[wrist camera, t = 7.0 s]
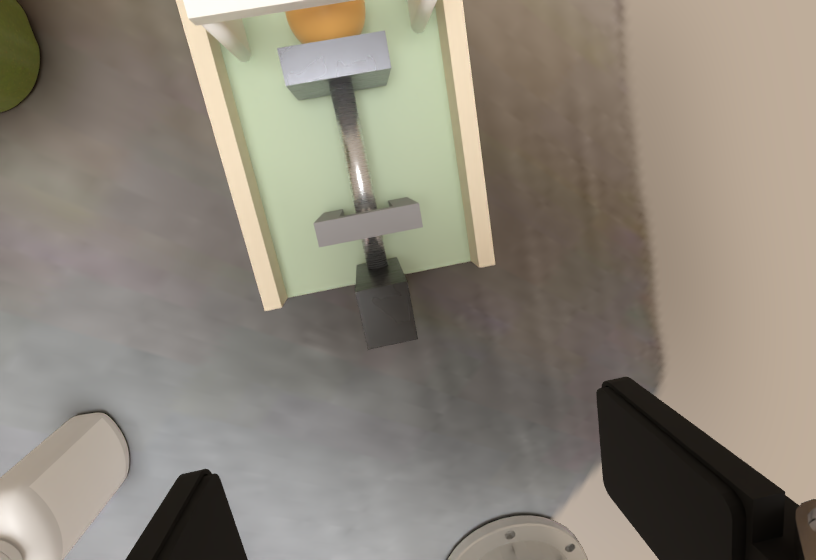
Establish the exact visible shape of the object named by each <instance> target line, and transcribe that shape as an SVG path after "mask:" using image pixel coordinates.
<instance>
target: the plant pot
mask: <svg viewBox="0 0 816 560" xmlns="http://www.w3.org/2000/svg"><path fill="white" fill-rule="evenodd" d="M39 64H40V53H39V47H38V44H37V42H36V40H35V37H34V35H33V32H32V29H31V27H30V24H29V22H28V19H27V16H26V14H25V12H24V10H23V9H22V7H21V6H20V5H19V3H18V2H17V1H16V0H0V112H3V111H6V110H9V109H11V108H13V107H15V106H16V105H18V104H19V103H20V102H21V101H22V100H23V99H24V98H25V97H26V96H27V95H28V94H29V93H30V91H31V90H32V88H33V86H34V84H35V82H36V79H37V75H38V71H39Z"/></svg>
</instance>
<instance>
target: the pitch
mask: <svg viewBox="0 0 816 560" xmlns="http://www.w3.org/2000/svg"><path fill="white" fill-rule="evenodd" d="M348 1H355V0H176V3H177V6H178V10H179V13H180V17H181V20H182V24H183V27H184V31H185V34H186V38H187V41H188V45H189V48H190V51H191V55H192V58H193V62H194V65H195V69H196V72H197V76H198V79H199V83H200V86H201V90H202V93H203V97H204V100H205V104H206V107H207V111H208V114H209V118H210V121H211V125H212V128H213V132H214V135H215V139H216V142H217V146H218V149H219V153H220V156H221V160H222V163H223V167H224V170H225V174H226V177H227V181H228V184H229V188H230V191H231V195H232V198H233V202H234V205H235V209H236V212H237V216H238V219H239V222H240V226H241V229H242V233H243V236H244V240H245V243H246V247H247V250H248V254H249V257H250V261H251V264H252V268H253V271H254V275H255V278H256V282H257V285H258V289H259V292H260V296H261V299H262V303H263V306H264V310H265V311H268V310H273V309H278V308H282V307H283V305H284V303H285V302H286V300H287V298H289V297H294V296H299V295H304V294H309V293H314V292H319V291H324V290H329V289H334V288H339V287H344V286H349V285H354V284H356V266H357V265H358V264H363V263H366V259H365V254H364V250H363V245H362V240H361V239H365V238H370V237H375V236H381V235H382V237H383V242H384V247H385V252H386V257H387V259H389V258H394V257H397V259H398V261H399V263H400V266H401V268H402V270H403V273H404V274H409V273H414V272H419V271H424V270H429V269H434V268H439V267H444V266H449V265H454V264H459V263H464V262H469V261H471V262H473V263H474V264H475V265H476V266H478V267H479V268H481V267H486V266H491V265H495V258H494V250H493V242H492V234H491V226H490V218H489V210H488V202H487V194H486V186H485V178H484V170H483V162H482V154H481V146H480V138H479V130H478V122H477V114H476V106H475V98H474V90H473V82H472V74H471V66H470V58H469V50H468V42H467V34H466V26H465V18H464V10H463V2H462V0H364V2H365V11H366V14H365V23H364V27H363V30H362V32H361V34H366V33H372V32H378V31H384V30H385V34H386V39H387V45H388V51H389V57H390V63H391V71H390V75H389V78H388V82H387V85H386V86H380V87H374V88H368V89H363V90H357V91H354V94H355V99H356V104H357V109H358V114H359V119H360V124H361V130H362V135H363V140H364V145H365V150H366V155H367V160H368V165H369V170H370V175H371V181H372V186H373V191H374V196H375V201H376V206H377V209H376V210H371V211H365V212H360V213H356V211H355V207H354V202H353V197H352V192H351V188H350V183H349V178H348V173H347V169H346V164H345V159H344V154H343V150H342V145H341V140H340V135H339V131H338V126H337V121H336V116H335V112H334V107H333V102H332V97H331V95H328V96H322V97H316V98H310V99H305V100H299V101H298V100H297V98H296V97H295V96H294V95H293V94H292V93H291V91H290V90H289V89H288V88H287V87H286V85H285V80H284V76H283V72H282V68H281V64H280V59H279V55H278V51H277V48H281V47H287V46H293V45H299V44H302V43H301V42H300V41H299V40H298V39H297V38H296V36H295V35H294V33H293V32H292V30H291V28H290V26H289V24H288V21H287V18H286V14H285V12H286V11H292V10H298V9H304V8H311V7H317V6H323V5H330V4H336V3H342V2H348Z"/></svg>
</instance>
